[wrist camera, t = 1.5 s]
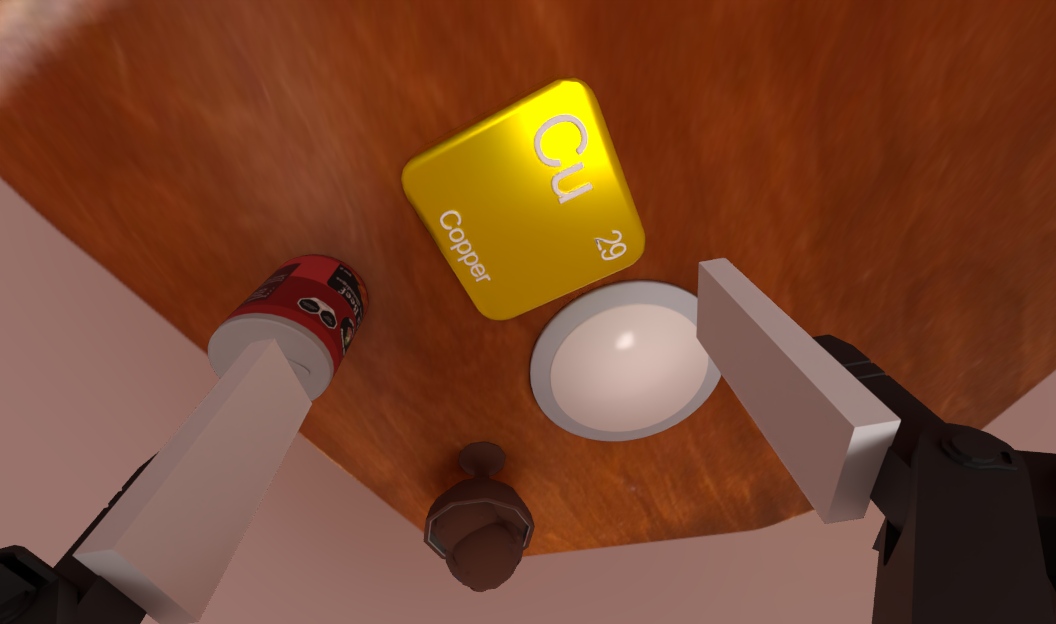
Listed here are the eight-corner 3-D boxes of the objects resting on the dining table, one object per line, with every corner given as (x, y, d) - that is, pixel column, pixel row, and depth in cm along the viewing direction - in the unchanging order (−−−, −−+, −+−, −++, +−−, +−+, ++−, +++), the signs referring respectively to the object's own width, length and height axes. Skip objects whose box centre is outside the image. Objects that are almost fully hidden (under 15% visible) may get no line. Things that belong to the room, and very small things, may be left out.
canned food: (371, 330, 42) (334, 412, 32) (283, 322, 41) (217, 403, 31) (369, 257, 38) (326, 325, 29) (272, 246, 37) (194, 311, 28)
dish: (501, 409, 48) (501, 419, 46) (581, 249, 39) (584, 256, 37) (658, 450, 53) (662, 460, 51) (761, 317, 43) (769, 325, 42)
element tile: (400, 158, 34) (386, 172, 30) (575, 63, 32) (586, 64, 28) (490, 305, 42) (489, 333, 37) (639, 237, 39) (655, 259, 35)
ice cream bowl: (424, 432, 49) (397, 568, 36) (523, 419, 49) (531, 551, 36) (445, 493, 54) (428, 630, 41) (534, 481, 54) (545, 615, 41)
